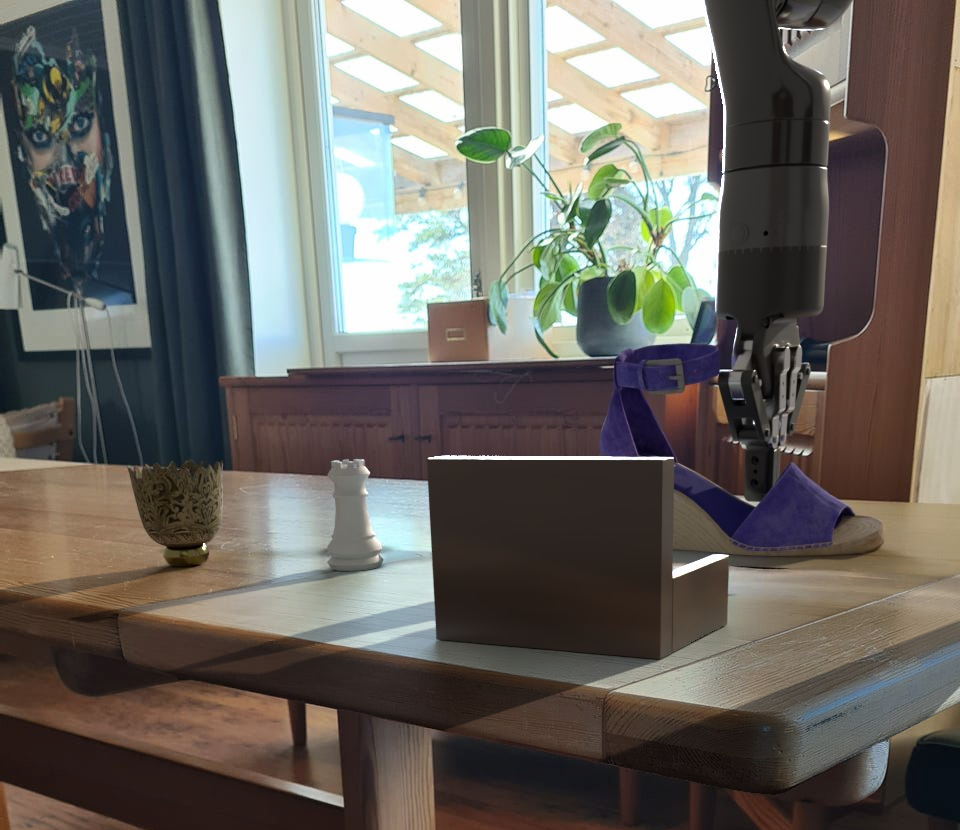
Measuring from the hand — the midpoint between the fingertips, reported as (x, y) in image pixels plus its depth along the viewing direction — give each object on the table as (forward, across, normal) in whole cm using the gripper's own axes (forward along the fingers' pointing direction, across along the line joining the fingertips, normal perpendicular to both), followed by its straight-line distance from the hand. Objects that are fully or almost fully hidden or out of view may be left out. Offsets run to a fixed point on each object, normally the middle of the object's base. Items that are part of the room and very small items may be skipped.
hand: (761, 500), depth 96 cm
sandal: (+3, -3, 0) cm, 5 cm away
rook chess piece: (+4, -14, +28) cm, 31 cm away
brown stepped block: (+4, -30, 0) cm, 30 cm away
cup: (+4, -17, +43) cm, 46 cm away
